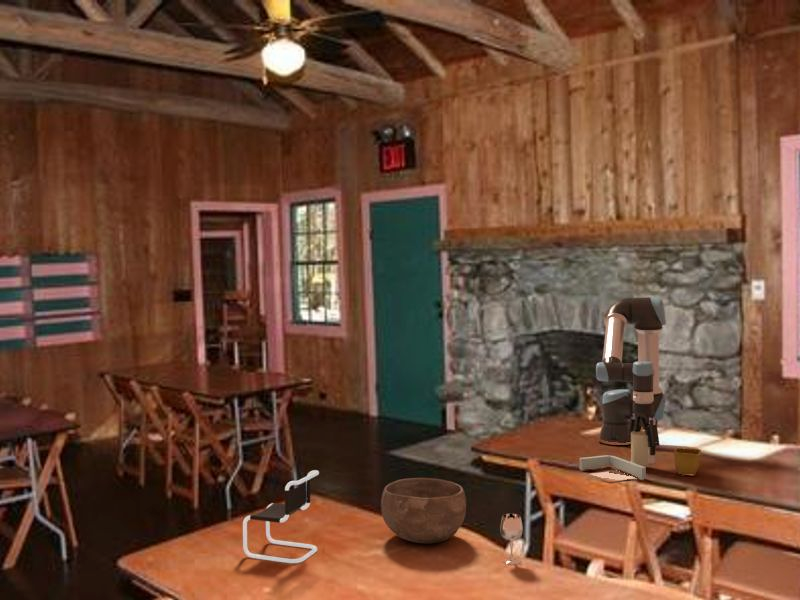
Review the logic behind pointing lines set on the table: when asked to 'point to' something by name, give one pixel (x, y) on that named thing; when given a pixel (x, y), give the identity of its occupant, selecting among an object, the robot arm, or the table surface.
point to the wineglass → (511, 533)
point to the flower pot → (687, 460)
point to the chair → (284, 517)
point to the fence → (613, 464)
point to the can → (639, 448)
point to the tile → (612, 476)
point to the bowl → (423, 509)
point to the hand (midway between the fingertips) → (643, 460)
